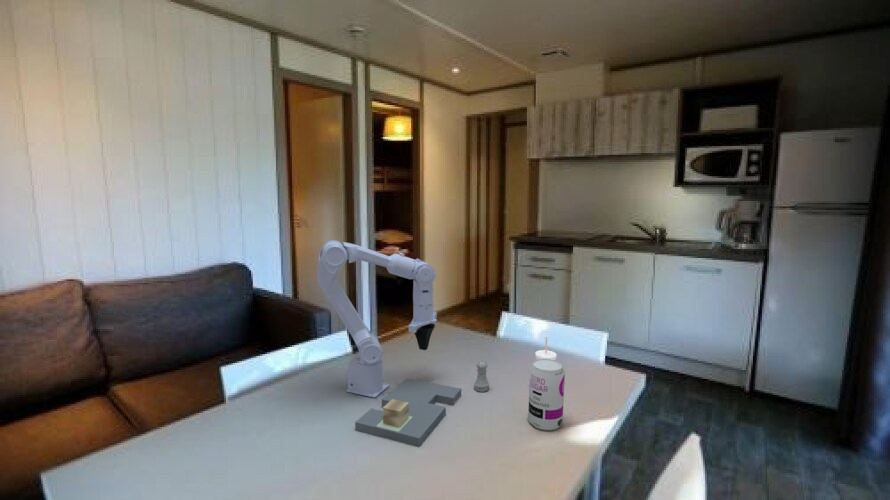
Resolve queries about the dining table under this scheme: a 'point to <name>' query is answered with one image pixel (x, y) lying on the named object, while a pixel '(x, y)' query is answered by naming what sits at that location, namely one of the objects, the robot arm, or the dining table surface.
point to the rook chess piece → (481, 377)
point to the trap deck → (411, 411)
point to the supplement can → (546, 394)
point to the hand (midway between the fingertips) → (423, 349)
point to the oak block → (395, 413)
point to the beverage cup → (545, 353)
